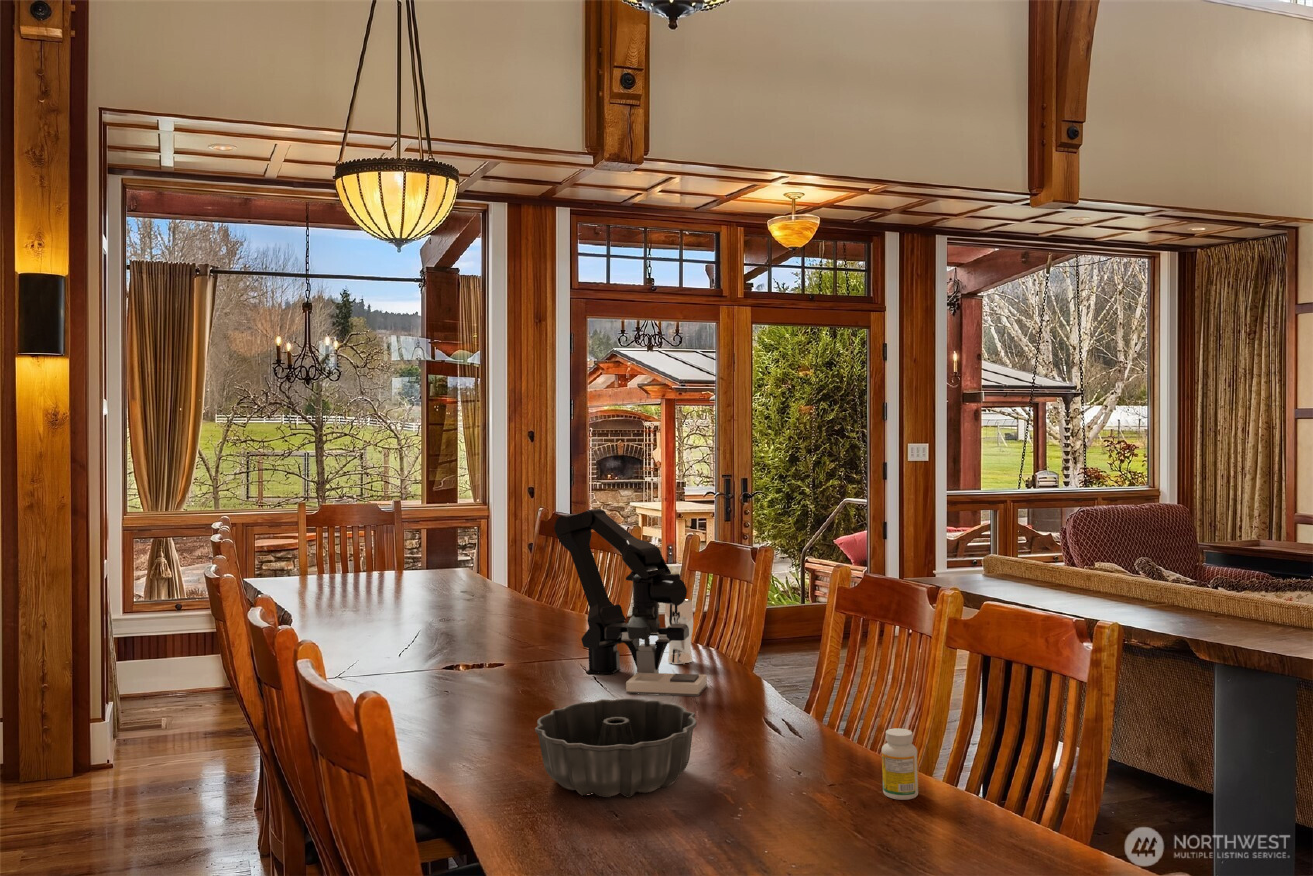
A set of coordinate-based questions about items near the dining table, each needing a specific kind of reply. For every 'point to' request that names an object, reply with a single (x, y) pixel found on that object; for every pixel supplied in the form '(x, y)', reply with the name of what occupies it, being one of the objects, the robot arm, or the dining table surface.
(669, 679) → the beige flat block
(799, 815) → the dining table surface
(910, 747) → the supplement bottle
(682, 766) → the bundt pan
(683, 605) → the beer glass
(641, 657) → the plug
